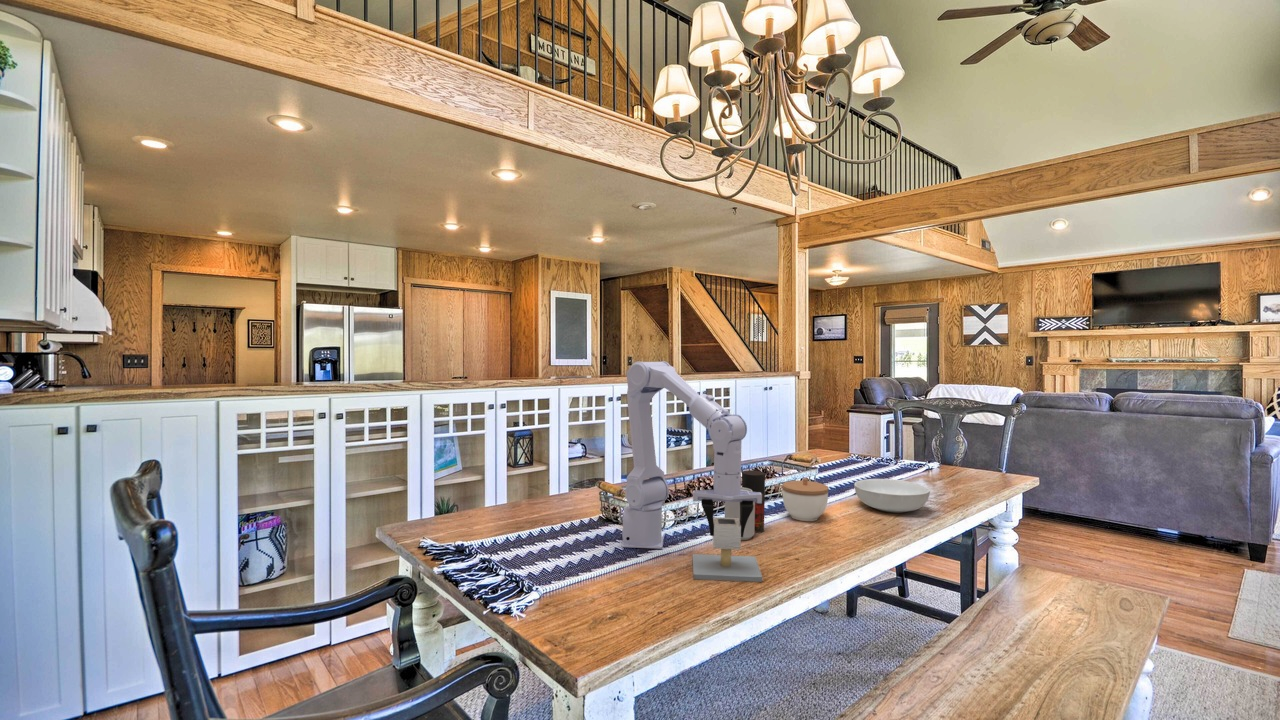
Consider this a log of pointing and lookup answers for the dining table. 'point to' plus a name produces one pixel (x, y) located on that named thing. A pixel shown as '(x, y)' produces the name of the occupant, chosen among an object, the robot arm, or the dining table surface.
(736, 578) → the post block
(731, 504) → the can
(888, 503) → the serving bowl
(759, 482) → the deodorant
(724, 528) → the collar
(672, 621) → the dining table surface
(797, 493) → the lidded bowl
